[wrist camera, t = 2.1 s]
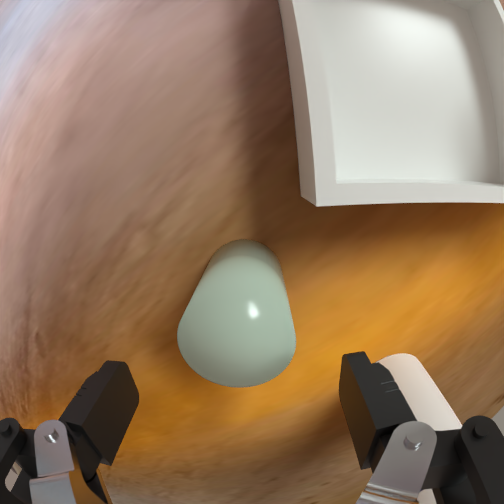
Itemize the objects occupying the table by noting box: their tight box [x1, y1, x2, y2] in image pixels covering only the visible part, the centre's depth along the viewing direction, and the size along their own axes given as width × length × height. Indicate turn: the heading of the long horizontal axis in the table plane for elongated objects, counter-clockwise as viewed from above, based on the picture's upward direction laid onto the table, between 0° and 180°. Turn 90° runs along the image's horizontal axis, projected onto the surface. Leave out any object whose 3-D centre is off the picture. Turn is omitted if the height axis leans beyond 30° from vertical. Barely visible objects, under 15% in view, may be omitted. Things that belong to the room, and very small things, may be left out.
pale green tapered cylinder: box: [177, 239, 296, 387], centre depth 15 cm, size 5×5×8 cm
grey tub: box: [278, 0, 504, 207], centre depth 12 cm, size 18×18×5 cm
